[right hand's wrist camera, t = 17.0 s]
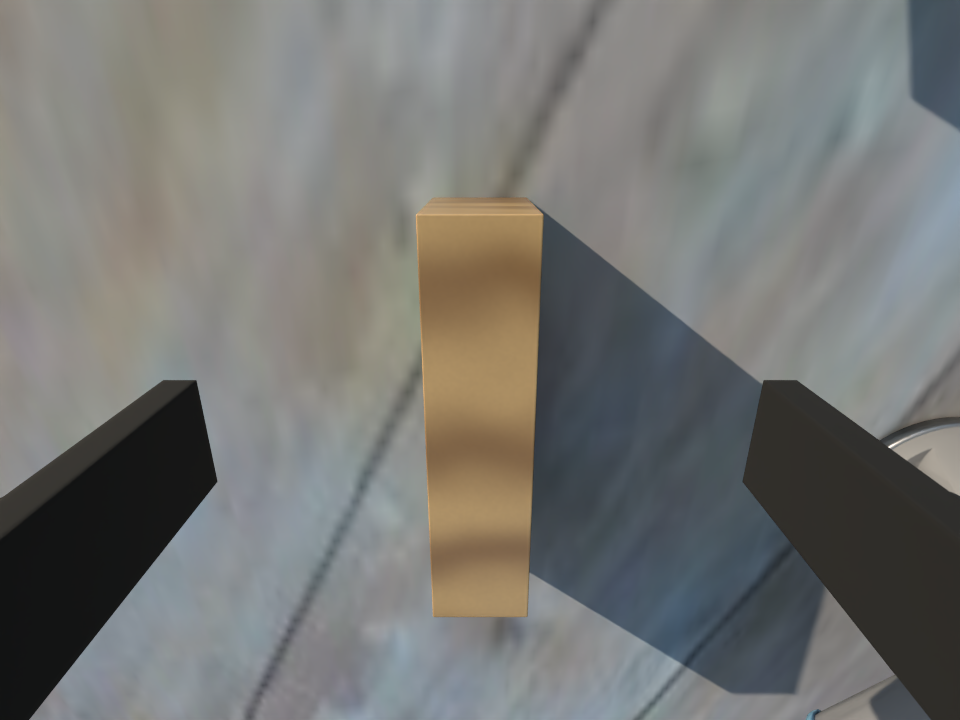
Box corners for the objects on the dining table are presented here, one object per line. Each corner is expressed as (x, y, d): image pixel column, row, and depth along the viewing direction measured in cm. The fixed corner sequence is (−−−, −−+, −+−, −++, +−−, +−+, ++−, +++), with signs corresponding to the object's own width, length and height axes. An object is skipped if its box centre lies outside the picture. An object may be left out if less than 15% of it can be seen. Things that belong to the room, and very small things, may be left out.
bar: (432, 197, 34) (415, 214, 25) (527, 197, 34) (543, 214, 25) (442, 521, 42) (433, 617, 34) (517, 521, 42) (527, 617, 34)
